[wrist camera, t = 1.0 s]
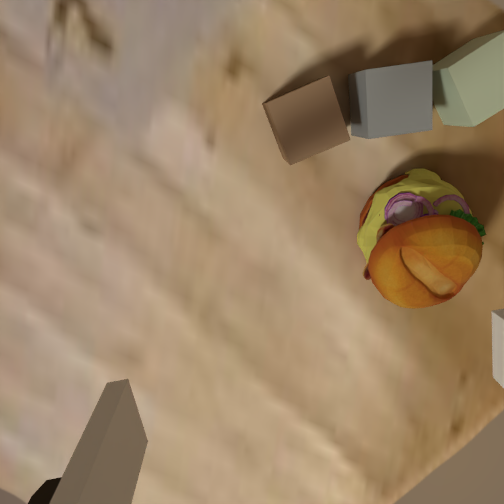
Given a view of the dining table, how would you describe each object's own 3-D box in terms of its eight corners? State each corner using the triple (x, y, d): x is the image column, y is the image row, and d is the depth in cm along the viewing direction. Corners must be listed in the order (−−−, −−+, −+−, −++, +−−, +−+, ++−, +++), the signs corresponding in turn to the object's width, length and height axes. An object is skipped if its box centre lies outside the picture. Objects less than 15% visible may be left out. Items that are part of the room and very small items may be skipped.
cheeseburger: (474, 171, 39) (538, 223, 31) (430, 266, 45) (474, 332, 36) (368, 156, 38) (405, 205, 30) (337, 255, 44) (360, 320, 35)
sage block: (419, 73, 37) (447, 68, 32) (472, 39, 36) (509, 28, 31) (443, 124, 38) (473, 126, 33) (494, 92, 37) (533, 90, 33)
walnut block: (262, 103, 37) (266, 103, 32) (316, 79, 36) (329, 75, 32) (283, 158, 38) (290, 165, 34) (335, 135, 38) (350, 139, 33)
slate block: (347, 74, 36) (365, 69, 32) (406, 66, 36) (432, 60, 32) (351, 135, 38) (368, 138, 33) (406, 127, 38) (432, 130, 33)
